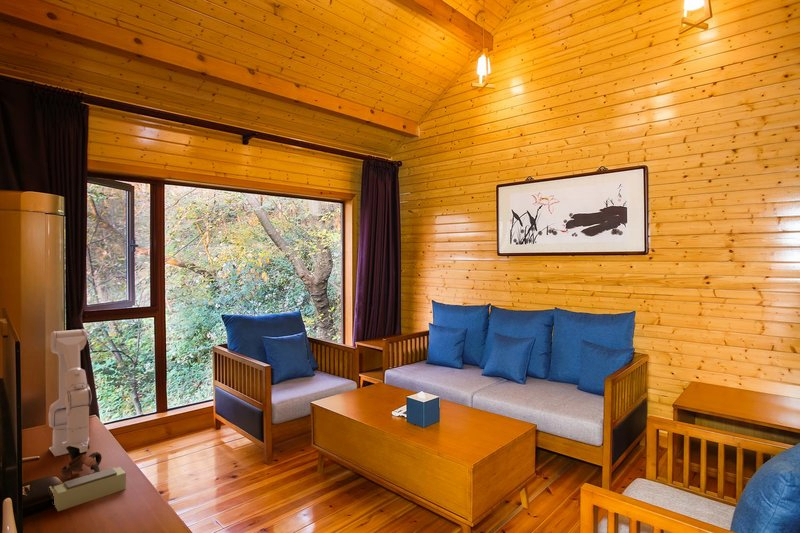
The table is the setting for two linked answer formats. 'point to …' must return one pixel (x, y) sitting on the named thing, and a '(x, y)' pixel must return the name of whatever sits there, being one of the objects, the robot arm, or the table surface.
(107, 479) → the deck bay
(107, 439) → the table surface
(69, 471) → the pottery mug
